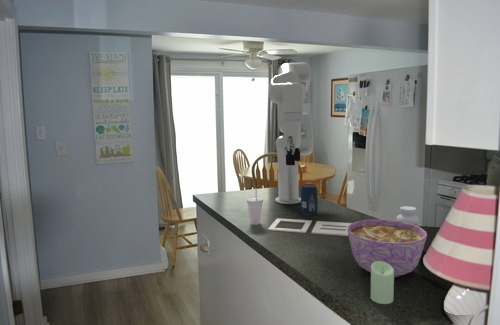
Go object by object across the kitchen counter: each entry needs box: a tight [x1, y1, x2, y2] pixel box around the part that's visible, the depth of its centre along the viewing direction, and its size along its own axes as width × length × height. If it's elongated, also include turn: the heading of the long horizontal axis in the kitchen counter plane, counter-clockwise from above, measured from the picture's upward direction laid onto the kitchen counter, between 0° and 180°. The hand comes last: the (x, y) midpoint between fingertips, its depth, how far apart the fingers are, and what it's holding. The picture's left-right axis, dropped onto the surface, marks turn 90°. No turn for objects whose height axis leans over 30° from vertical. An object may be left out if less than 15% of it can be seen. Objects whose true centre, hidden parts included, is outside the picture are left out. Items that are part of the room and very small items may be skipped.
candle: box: [370, 261, 395, 305], centre depth 89 cm, size 5×5×8 cm
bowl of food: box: [347, 219, 428, 279], centre depth 103 cm, size 20×20×12 cm
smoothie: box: [246, 187, 264, 226], centre depth 150 cm, size 6×6×14 cm
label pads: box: [267, 218, 353, 237], centre depth 144 cm, size 14×30×1 cm, turn 72°
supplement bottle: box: [395, 205, 420, 227], centre depth 120 cm, size 7×7×13 cm
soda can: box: [300, 183, 319, 216], centre depth 162 cm, size 7×7×12 cm
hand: (293, 162), depth 145 cm, fingers open, 9 cm apart
